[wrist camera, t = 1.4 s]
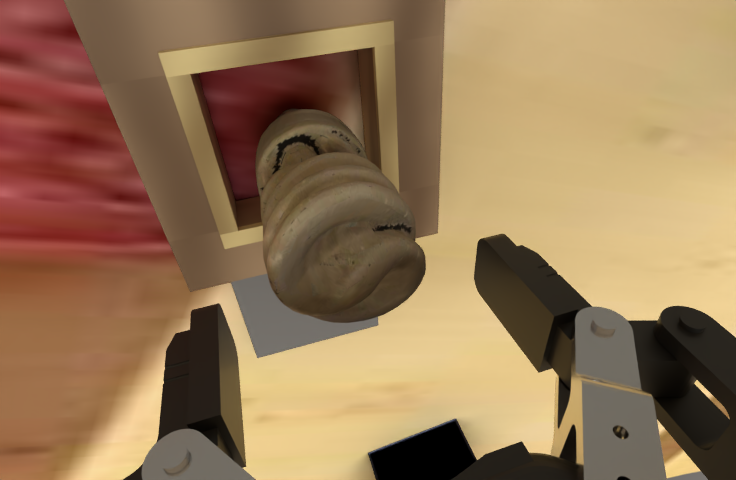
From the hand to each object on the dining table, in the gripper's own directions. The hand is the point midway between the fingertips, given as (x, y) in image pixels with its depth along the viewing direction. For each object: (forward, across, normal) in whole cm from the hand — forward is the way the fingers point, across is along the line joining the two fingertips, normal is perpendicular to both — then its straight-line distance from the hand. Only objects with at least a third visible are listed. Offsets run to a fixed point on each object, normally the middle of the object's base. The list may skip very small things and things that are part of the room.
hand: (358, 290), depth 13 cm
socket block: (+15, 0, 0) cm, 15 cm away
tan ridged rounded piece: (+15, 0, 0) cm, 15 cm away
